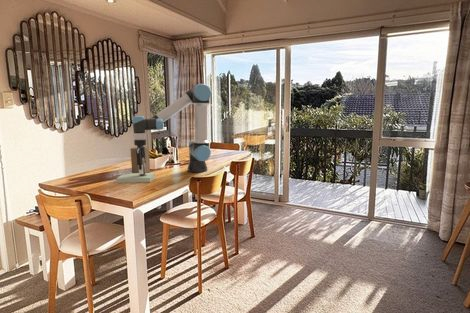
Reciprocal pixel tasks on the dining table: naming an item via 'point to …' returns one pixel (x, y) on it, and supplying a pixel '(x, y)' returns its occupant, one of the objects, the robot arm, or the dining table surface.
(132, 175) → the board
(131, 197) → the dining table surface
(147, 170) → the wooden block
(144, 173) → the walnut peg
